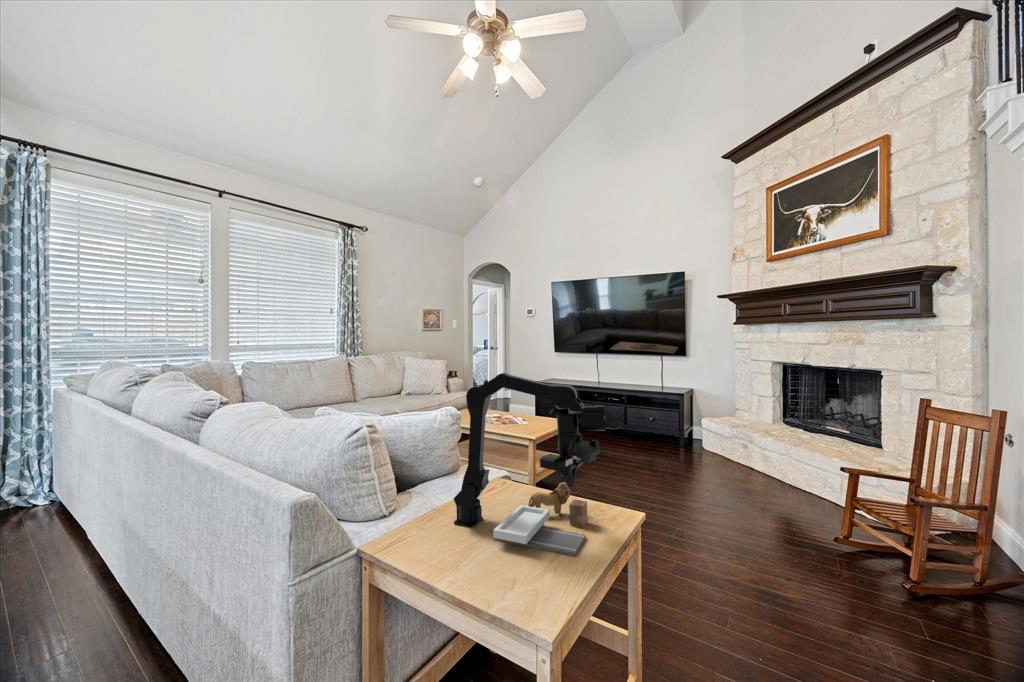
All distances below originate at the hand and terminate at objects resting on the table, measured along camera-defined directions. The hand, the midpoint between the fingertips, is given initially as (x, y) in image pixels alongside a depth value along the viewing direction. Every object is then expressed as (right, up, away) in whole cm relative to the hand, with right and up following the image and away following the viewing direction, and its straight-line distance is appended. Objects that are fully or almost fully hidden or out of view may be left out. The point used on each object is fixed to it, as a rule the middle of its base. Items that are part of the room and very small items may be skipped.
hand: (570, 487), depth 113 cm
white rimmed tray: (-13, -12, -3) cm, 18 cm away
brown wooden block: (+3, -12, +3) cm, 12 cm away
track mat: (-9, -12, -5) cm, 16 cm away
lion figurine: (-5, -12, +10) cm, 17 cm away
